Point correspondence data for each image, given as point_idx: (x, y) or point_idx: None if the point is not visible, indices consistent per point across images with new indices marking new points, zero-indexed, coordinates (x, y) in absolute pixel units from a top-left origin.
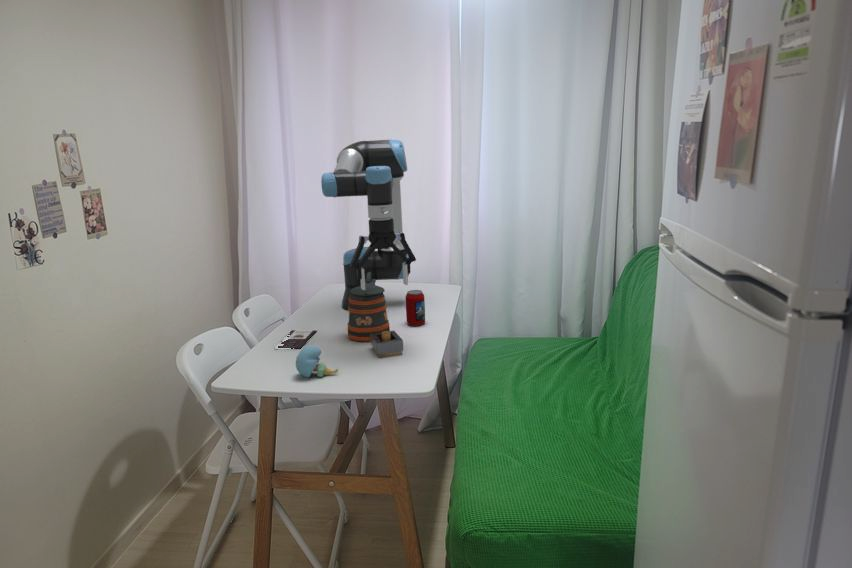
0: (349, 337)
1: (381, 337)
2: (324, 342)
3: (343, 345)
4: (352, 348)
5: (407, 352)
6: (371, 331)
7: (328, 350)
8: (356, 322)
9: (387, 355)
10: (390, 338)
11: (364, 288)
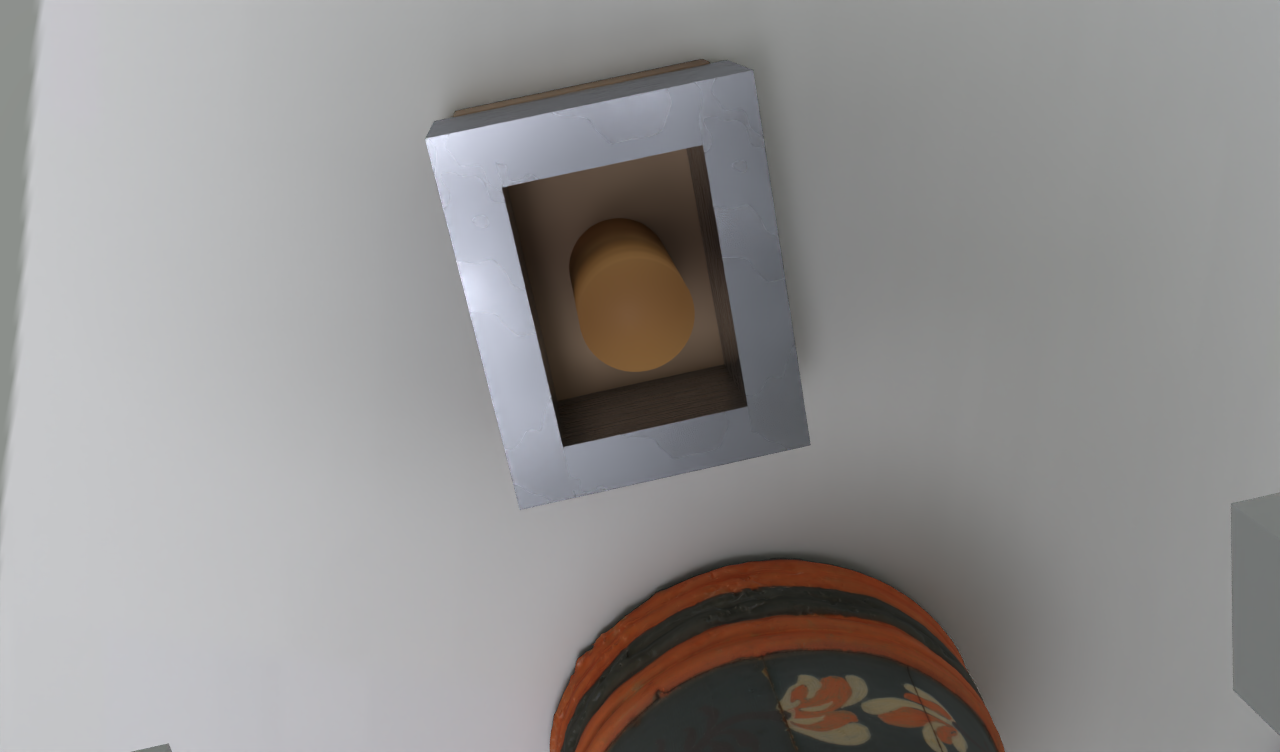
0: (963, 662)
1: (675, 405)
2: (1189, 615)
3: (1030, 507)
4: (955, 408)
5: (390, 172)
6: (770, 619)
7: (1185, 396)
8: (954, 721)
9: (621, 76)
10: (578, 277)
11: (1274, 518)
